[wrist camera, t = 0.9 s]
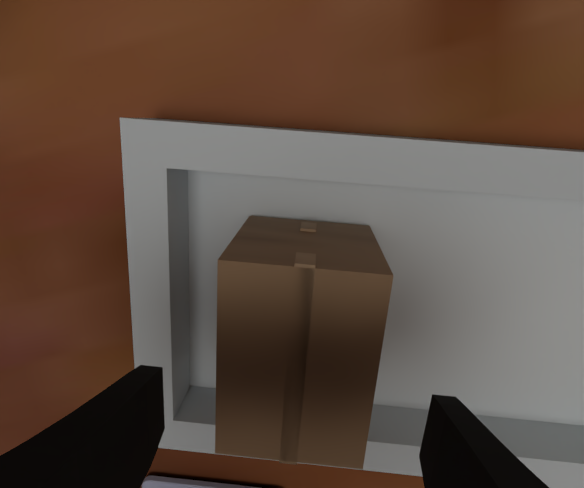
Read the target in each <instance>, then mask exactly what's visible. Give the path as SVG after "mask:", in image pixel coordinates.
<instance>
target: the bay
mask: <svg viewBox="0 0 584 488" xmlns="http://www.w3.org/2000/svg"><path fill="white" fill-rule="evenodd" d="M120 131H121V148H122V165H123V181H124V198H125V215H126V232H127V249H128V265H129V282H130V299H131V316H132V332H133V349H134V366H135V368H137V367H138V366H140V365H146V366H156V367H163V394H164V421H165V429H164V432H163V435H162V438H161V440H160V443H159V446H158V448H165V449H174V450H183V451H193V452H202V453H211V454H216V453H215V415H216V340H217V265H218V259H219V257H220V256H221V254H222V253H223V252H224V250H225V249H226V248H227V246H228V245H229V243H230V242H231V241H232V239H233V238H234V237H235V235H236V234H237V232H238V231H239V230H240V228H241V227H242V225H243V224H244V223H245V221H246V220H247V219H248V217H249V216H260V217H272V218H284V219H296V220H308V221H320V222H332V223H344V224H356V225H368V226H370V228H371V230H372V232H373V234H374V236H375V238H376V240H377V242H378V244H379V246H380V248H381V250H382V252H383V255H384V257H385V259H386V261H387V263H388V265H389V267H390V269H391V271H392V273H393V275H394V276H393V282H392V288H391V295H390V301H389V307H388V314H387V320H386V326H385V332H384V339H383V345H382V351H381V358H380V364H379V370H378V376H377V383H376V389H375V395H374V402H373V408H372V414H371V420H370V427H369V433H368V439H367V445H366V452H365V458H364V464H363V469H358V470H367V471H377V472H386V473H395V474H404V475H413V476H422V470H421V464H420V459H419V454H420V449H421V444H422V439H423V435H424V430H425V425H426V421H427V416H428V411H429V407H430V402H431V397H432V394H434V395H444V396H454V397H457V398H458V399H459V400H460V401H461V402H462V403H463V404H464V405H465V406H466V407H467V408H468V409H469V410H470V411H471V412H472V413H473V414H474V415H475V416H476V417H477V418H478V419H479V420H480V421H481V422H482V423H483V424H484V425H485V426H486V427H487V428H488V429H489V430H490V431H491V432H492V433H493V434H494V435H495V436H496V437H497V438H498V439H499V440H500V441H501V442H502V443H503V444H504V445H505V446H506V447H507V448H508V449H509V450H510V451H511V452H512V453H513V454H514V455H515V456H516V457H517V458H518V459H519V460H520V461H521V462H522V463H523V464H524V465H525V466H526V467H527V468H528V469H529V470H531V471H532V472H533V473H534V474H535V475H536V476H537V477H538V478H539V479H540V480H541V481H543V482H544V483H545V484H546V485H547V486H548V487H549V488H584V150H576V149H563V148H549V147H536V146H522V145H509V144H496V143H482V142H469V141H455V140H442V139H428V138H415V137H401V136H388V135H374V134H361V133H347V132H334V131H321V130H307V129H294V128H280V127H267V126H253V125H240V124H226V123H213V122H199V121H186V120H172V119H159V118H120ZM220 455H225V454H220ZM229 456H234V455H229ZM239 457H244V456H239ZM248 458H253V457H248ZM257 459H262V458H257ZM266 460H271V459H266ZM275 461H279V460H275ZM297 463H299V462H297ZM303 464H308V463H303ZM312 465H317V464H312ZM321 466H327V465H321ZM331 467H336V466H331ZM340 468H345V467H340ZM349 469H354V468H349Z"/></svg>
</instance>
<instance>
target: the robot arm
mask: <svg viewBox="0 0 584 488" xmlns="http://www.w3.org/2000/svg"><path fill="white" fill-rule="evenodd" d="M164 429H165V421H164V394H163V367H156V366H146V365H140V366H138V367H137V368H135V369H134V370H132V371H131V372H129V373H128V374H126V375H125V376H123V377H122V378H121V379H119V380H118V381H116V382H115V383H114V384H112V385H111V386H109V387H108V388H107V389H105V390H104V391H102V392H101V393H99V394H98V395H97V396H95V397H94V398H92V399H91V400H89V401H88V402H86V403H85V404H83V405H82V406H81V407H79V408H78V409H76V410H75V411H73V412H72V413H70V414H69V415H67V416H65V417H64V418H62V419H61V420H59V421H57V422H56V423H54V424H53V425H51V426H50V427H48V428H46V429H45V430H43V431H42V432H40V433H39V434H37V435H35V436H34V437H32V438H31V439H29V440H27V441H25V442H24V443H22V444H20V445H19V446H17V447H15V448H13V449H12V450H10V451H8V452H6V453H5V454H3V455H1V456H0V488H140V486H141V484H142V488H260V487H251V486H242V485H234V484H225V483H216V482H207V481H198V480H189V479H180V478H171V477H162V476H147V477H146V478H145V476H146V474H147V472H148V470H149V468H150V466H151V464H152V461H153V459H154V456H155V454H156V451H157V449H158V446H159V443H160V440H161V438H162V435H163V432H164ZM419 459H420V464H421V470H422V476H423V481H424V486H425V488H549V487H548V486H547V485H546V484H545V483H544V482H543V481H541V480H540V479H539V478H538V477H537V476H536V475H535V474H534V473H533V472H532V471H531V470H529V469H528V468H527V467H526V466H525V465H524V464H523V463H522V462H521V461H520V460H519V459H518V458H517V457H516V456H515V455H514V454H513V453H512V452H511V451H510V450H509V449H508V448H507V447H506V446H505V445H504V444H503V443H502V442H501V441H500V440H499V439H498V438H497V437H496V436H495V435H494V434H493V433H492V432H491V431H490V430H489V429H488V428H487V427H486V426H485V425H484V424H483V423H482V422H481V421H480V420H479V419H478V418H477V417H476V416H475V415H474V414H473V413H472V412H471V411H470V410H469V409H468V408H467V407H466V406H465V405H464V404H463V403H462V402H461V401H460V400H459V399H458V398H457V397H454V396H444V395H434V394H432V397H431V402H430V407H429V411H428V416H427V421H426V425H425V430H424V435H423V439H422V444H421V449H420V454H419ZM144 478H145V479H144ZM143 480H144V481H143ZM142 482H143V483H142Z"/></svg>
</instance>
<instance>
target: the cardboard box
mask: <svg viewBox="0 0 584 488" xmlns="http://www.w3.org/2000/svg"><path fill="white" fill-rule="evenodd" d="M393 276H394V275H393V273H392V271H391V269H390V267H389V265H388V263H387V261H386V259H385V257H384V255H383V252H382V250H381V248H380V246H379V244H378V242H377V240H376V238H375V236H374V234H373V232H372V230H371V228H370V226H368V225H356V224H344V223H332V222H320V221H308V220H296V219H284V218H272V217H260V216H249V217H248V219H247V220H246V221H245V223H244V224H243V225H242V227H241V228H240V230H239V231H238V232H237V234H236V235H235V237H234V238H233V239H232V241H231V242H230V243H229V245H228V246H227V248H226V249H225V250H224V252H223V253H222V254H221V256H220V257H219V259H218V265H217V340H216V415H215V453H216V454H225V455H234V456H244V457H253V458H262V459H271V460H279V463H287V464H296V465H297V462H299V463H308V464H317V465H327V466H336V467H345V468H354V469H363V464H364V458H365V452H366V445H367V439H368V433H369V427H370V420H371V414H372V408H373V402H374V395H375V389H376V383H377V376H378V370H379V364H380V358H381V351H382V345H383V339H384V332H385V326H386V320H387V314H388V307H389V301H390V295H391V288H392V282H393Z"/></svg>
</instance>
